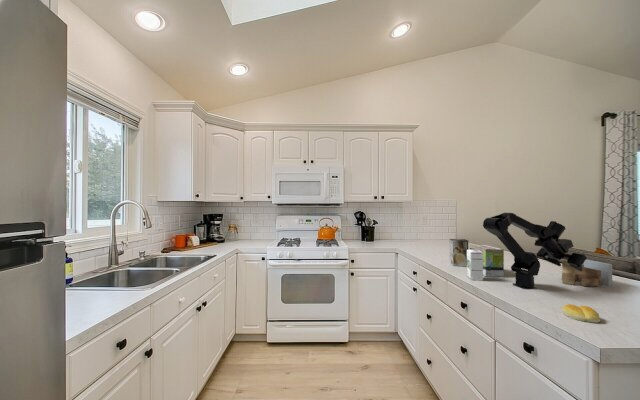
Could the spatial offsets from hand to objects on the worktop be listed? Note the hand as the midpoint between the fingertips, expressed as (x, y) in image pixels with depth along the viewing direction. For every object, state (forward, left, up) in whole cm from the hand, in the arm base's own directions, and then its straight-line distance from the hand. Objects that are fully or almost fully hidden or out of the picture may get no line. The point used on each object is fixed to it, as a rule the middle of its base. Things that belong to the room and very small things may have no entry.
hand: (570, 268), depth 122 cm
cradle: (+5, 0, -7) cm, 9 cm away
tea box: (-26, +22, -8) cm, 35 cm away
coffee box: (-29, +40, -8) cm, 50 cm away
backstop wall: (+15, 0, -7) cm, 17 cm away
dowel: (-1, 0, -7) cm, 8 cm away
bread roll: (-36, -31, -8) cm, 48 cm away
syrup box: (-40, +13, -8) cm, 43 cm away
